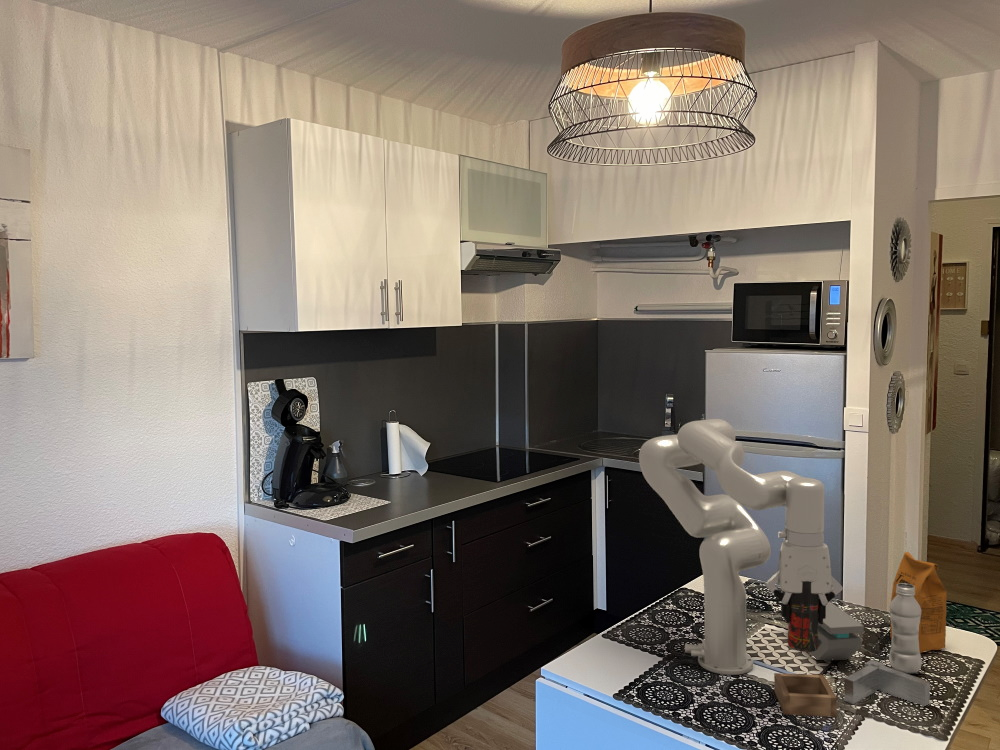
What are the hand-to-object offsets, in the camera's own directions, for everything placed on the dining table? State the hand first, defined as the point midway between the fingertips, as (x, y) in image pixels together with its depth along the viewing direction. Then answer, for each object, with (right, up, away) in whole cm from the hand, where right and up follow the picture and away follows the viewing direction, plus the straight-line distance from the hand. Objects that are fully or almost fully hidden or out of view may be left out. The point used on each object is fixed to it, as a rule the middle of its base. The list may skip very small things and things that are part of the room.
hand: (803, 620), depth 167 cm
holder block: (+1, -18, +1) cm, 18 cm away
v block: (+18, -17, +4) cm, 26 cm away
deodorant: (0, -6, 0) cm, 6 cm away
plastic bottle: (+29, -16, +15) cm, 37 cm away
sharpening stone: (+15, -16, +27) cm, 35 cm away
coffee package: (+39, -15, +29) cm, 51 cm away
